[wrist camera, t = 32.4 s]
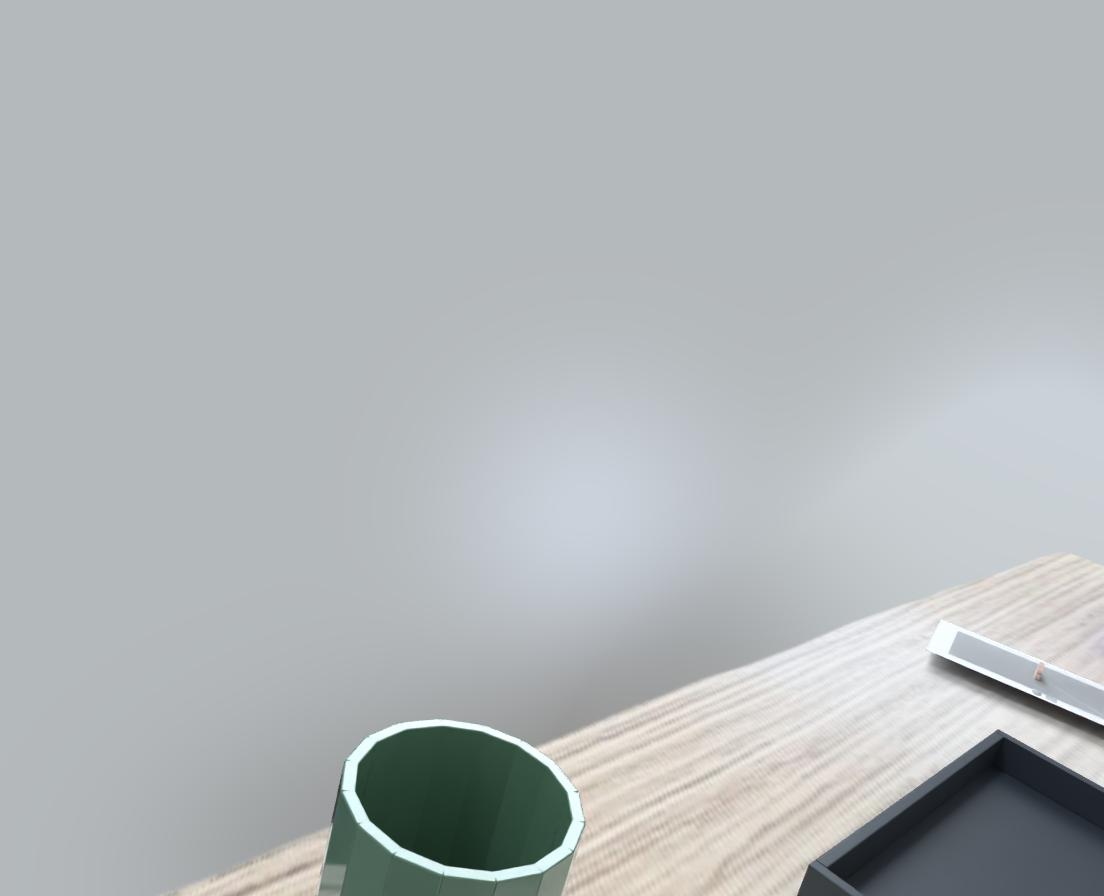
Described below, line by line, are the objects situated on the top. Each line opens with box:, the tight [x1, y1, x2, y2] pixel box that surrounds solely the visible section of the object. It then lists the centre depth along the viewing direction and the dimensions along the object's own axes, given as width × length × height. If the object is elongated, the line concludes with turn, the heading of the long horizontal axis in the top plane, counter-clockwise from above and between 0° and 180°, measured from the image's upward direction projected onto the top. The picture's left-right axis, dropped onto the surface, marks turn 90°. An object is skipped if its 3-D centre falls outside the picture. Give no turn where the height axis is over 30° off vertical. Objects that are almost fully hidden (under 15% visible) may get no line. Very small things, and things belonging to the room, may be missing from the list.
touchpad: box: [926, 619, 1104, 726], centre depth 72 cm, size 8×15×2 cm, turn 60°
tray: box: [797, 730, 1104, 896], centre depth 47 cm, size 23×13×2 cm, turn 135°
